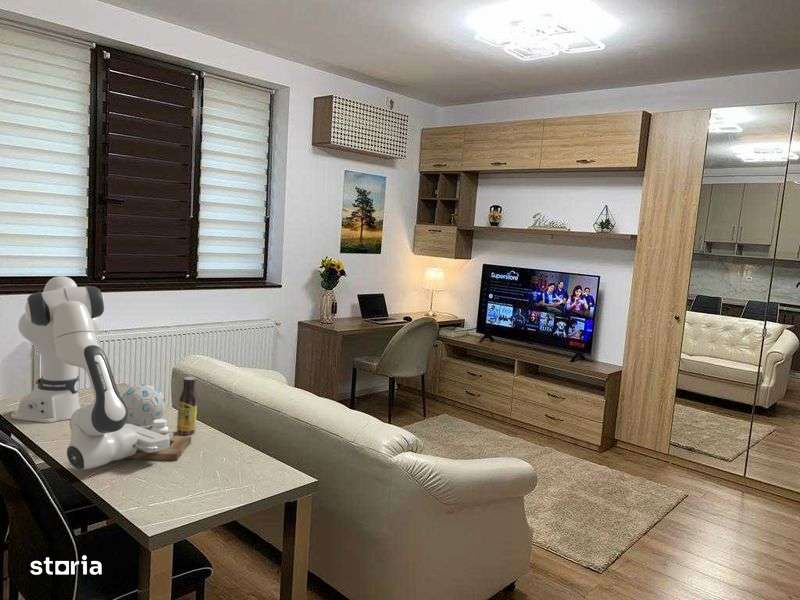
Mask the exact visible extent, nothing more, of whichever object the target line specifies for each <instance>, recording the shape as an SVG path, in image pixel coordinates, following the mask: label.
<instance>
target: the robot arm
mask: <svg viewBox="0 0 800 600" xmlns="http://www.w3.org/2000/svg"><path fill="white" fill-rule="evenodd" d="M24 307H25V312H24V313H23V314H22V315H21V316H20V318H19V320H18V324H17V325H18V332H19V333H20V335H21V336H22V337H23V338H24V339H25V340H28V341H29V342H30V343H31V344H33V346H34V347H36V349H37V350H38V353H39V354H40V357H41V365H42V376H41V378H38V379H37V380H36V381H34V382H35V383H34V385H37V387H36V388H34V389H33V390H31V391H30V392H29V393H27V394H26V395H25V396H23V397H22V398H21V400H20V401H19V404H18V407H17V409H16V410H14V411H13V412H11V414H10V419H13V420H18V421H19V420H20V421H27V422H28V421H30V422H38V423H53V422H59V421H65V420H69V427H70V430H71V433H70V434H71V436H70V442H69V445H68V446H67V448H66V457H67V459H68V461H69V463H70V464H71V465H72V466H73V467H75V468H76V469H77V470H89V469H94V468H97V467H98V468H99V467H102V466H104V465H107V464H108V463H111V462H112V461H120V460H123V459H127V458H126V457H129V456H132V455H134V454H135V453H136V451H137V449H138V450H141V451H143V452H147V453H153V452H157V451H161V450H165V449H168V448H169V447H170V439H171V438H173V436H174V433H173V432H171V431H169V432H167V433H166V435H162V434H159V433H156V432H153V431H151V428H152V427H154V426H153V425H149V426H140V427H138V426H135V425H132V424H127V423H126V421H127V418H128V409H127V406H126V404H125V402H124V401H123V399H122V396H121V394H120V392H119V389H118V386H117V384H116V380H115V377H114V375H113V371H112V369H111V365H110V362H109V360H108V357H107V354H106V353H105V351H104V350H103V349H102V348H101V346H100V345H99V342H98V338H97V335H98V333H99V331H100V330H101V325H102V322H101V319H100V317H102V315H103V313H104V311H105V308H106V299H105V296H104V294H103V293H102V290H101V289H100V288H98V287H96V286H91V285H84V286H78V285H77V283H76V282H75V281H74V280H73V279H72V278H71V277H69V276H68V277H67V276H64V275H58V276H54V277H52V278H51V279H48V281H47V282H46V283H45V286H44V288H43V291H37V292H34V293H31V294H30V295H29V296H28V297H27V300H26V304H25V306H24ZM78 367H79V368H82V369H83V370H84V371H85V372H86V374H87V375H88V381H89V383H90V385H91V389H92V392H93V395H94V400H93V403H90V404H87V405H85V406H82V407H81V404H80V398H79V390H80V389H79V387H80V379H79V375H78Z"/></svg>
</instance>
